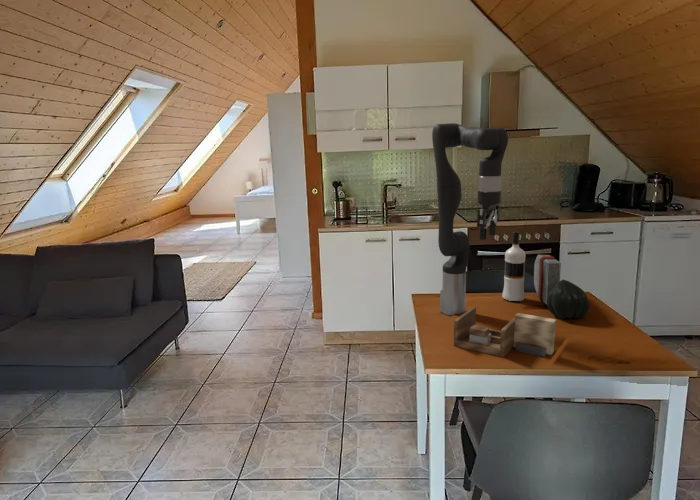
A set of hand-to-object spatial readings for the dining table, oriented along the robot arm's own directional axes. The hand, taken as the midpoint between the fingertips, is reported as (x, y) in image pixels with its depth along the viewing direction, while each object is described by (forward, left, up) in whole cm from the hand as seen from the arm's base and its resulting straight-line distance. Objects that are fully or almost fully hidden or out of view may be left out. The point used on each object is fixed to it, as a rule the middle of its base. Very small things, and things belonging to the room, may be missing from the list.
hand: (487, 237), depth 165 cm
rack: (+4, -7, -36) cm, 37 cm away
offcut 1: (+2, -11, -31) cm, 33 cm away
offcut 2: (+3, -11, -33) cm, 35 cm away
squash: (+19, +37, -36) cm, 55 cm away
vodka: (-5, +47, -36) cm, 60 cm away
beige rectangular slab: (+18, -4, -35) cm, 40 cm away
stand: (+18, -4, -36) cm, 40 cm away
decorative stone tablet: (+6, +56, -36) cm, 67 cm away
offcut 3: (+3, -11, -35) cm, 37 cm away
